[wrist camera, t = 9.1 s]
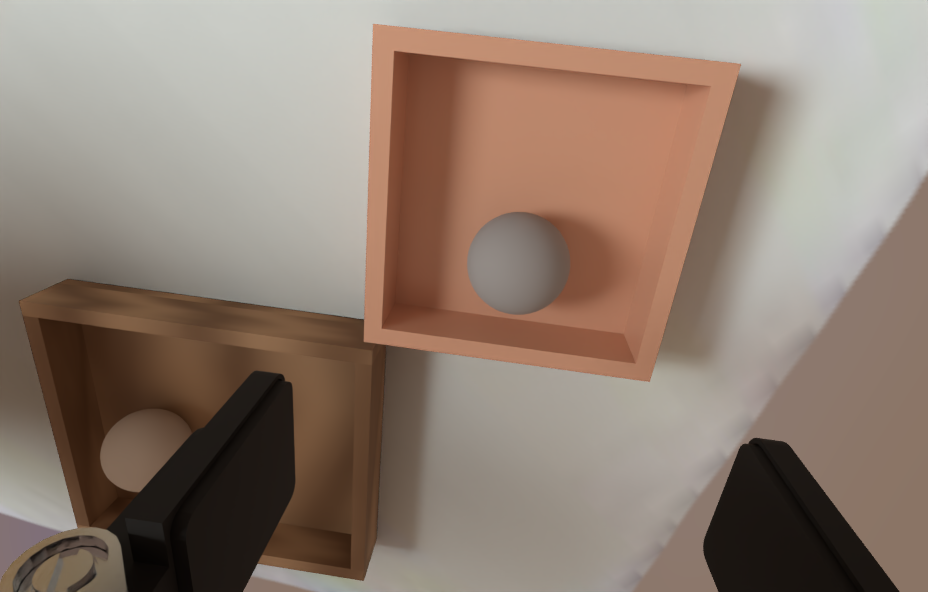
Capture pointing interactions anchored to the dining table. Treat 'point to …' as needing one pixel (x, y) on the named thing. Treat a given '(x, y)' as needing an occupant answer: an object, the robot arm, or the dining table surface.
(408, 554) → the dining table surface
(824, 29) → the dining table surface
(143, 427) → the beige ball
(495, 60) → the terracotta dish
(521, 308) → the grey ball
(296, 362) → the walnut tray
